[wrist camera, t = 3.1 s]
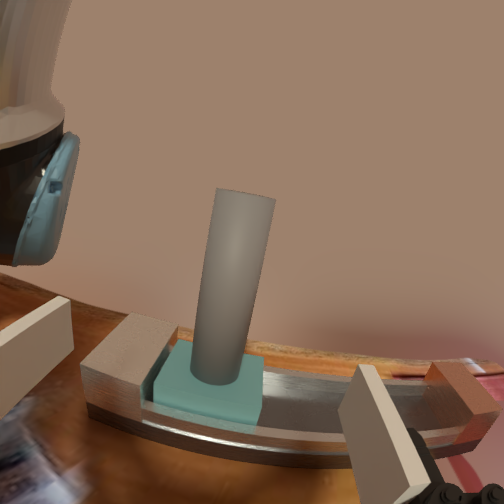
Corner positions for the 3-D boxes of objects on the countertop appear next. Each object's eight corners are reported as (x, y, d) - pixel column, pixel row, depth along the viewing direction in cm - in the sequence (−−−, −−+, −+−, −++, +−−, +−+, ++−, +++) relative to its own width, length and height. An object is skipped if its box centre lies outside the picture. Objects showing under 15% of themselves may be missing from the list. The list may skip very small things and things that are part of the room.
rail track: (89, 417, 19) (79, 363, 18) (131, 359, 29) (131, 311, 27) (472, 450, 18) (502, 409, 17) (440, 401, 28) (461, 362, 27)
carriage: (153, 410, 20) (172, 182, 16) (176, 364, 27) (199, 184, 23) (253, 432, 20) (313, 209, 16) (257, 381, 26) (299, 203, 23)
